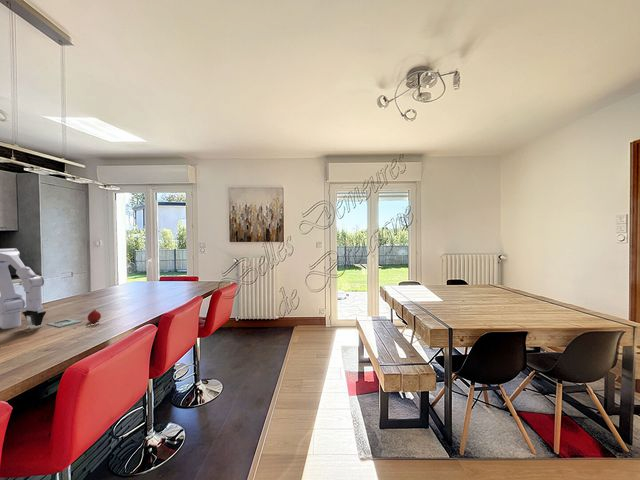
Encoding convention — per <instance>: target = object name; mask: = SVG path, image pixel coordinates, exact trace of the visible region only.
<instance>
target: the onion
mask: <svg viewBox="0 0 640 480" xmlns="http://www.w3.org/2000/svg"><path fill="white" fill-rule="evenodd" d="M101 317H102V314H101V313H100V312H99V311H97V310H96V309H94V308H93V310H92V311H91V312H89V314H88V315H87V321H88V322H89V323H92V324H96V323H97V322H99V320H101Z"/></svg>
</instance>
